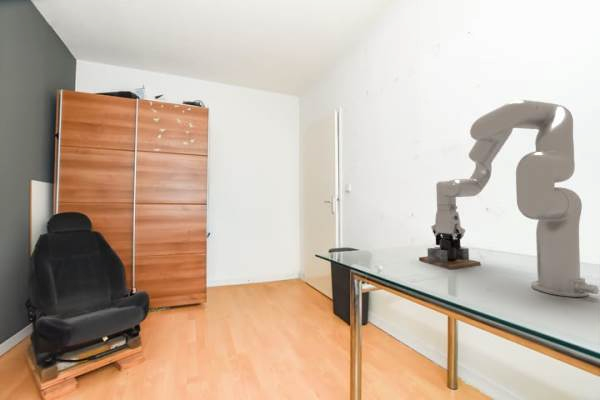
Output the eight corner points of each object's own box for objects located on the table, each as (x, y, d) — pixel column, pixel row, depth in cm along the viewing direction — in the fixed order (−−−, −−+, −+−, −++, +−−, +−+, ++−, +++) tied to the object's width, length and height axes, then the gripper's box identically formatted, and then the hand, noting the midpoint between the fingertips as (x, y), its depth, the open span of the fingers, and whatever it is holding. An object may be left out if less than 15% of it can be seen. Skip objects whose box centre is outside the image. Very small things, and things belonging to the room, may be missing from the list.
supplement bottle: (441, 261, 118) (440, 233, 118) (438, 257, 124) (437, 231, 124) (459, 261, 116) (458, 233, 116) (455, 258, 122) (453, 231, 122)
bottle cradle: (480, 265, 114) (479, 247, 114) (451, 269, 109) (450, 251, 109) (445, 257, 131) (445, 242, 131) (419, 260, 126) (418, 244, 126)
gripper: (470, 208, 113) (471, 249, 113) (437, 207, 130) (439, 243, 130) (456, 209, 111) (457, 250, 111) (425, 208, 127) (426, 244, 127)
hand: (447, 246), depth 120 cm, fingers open, 9 cm apart
